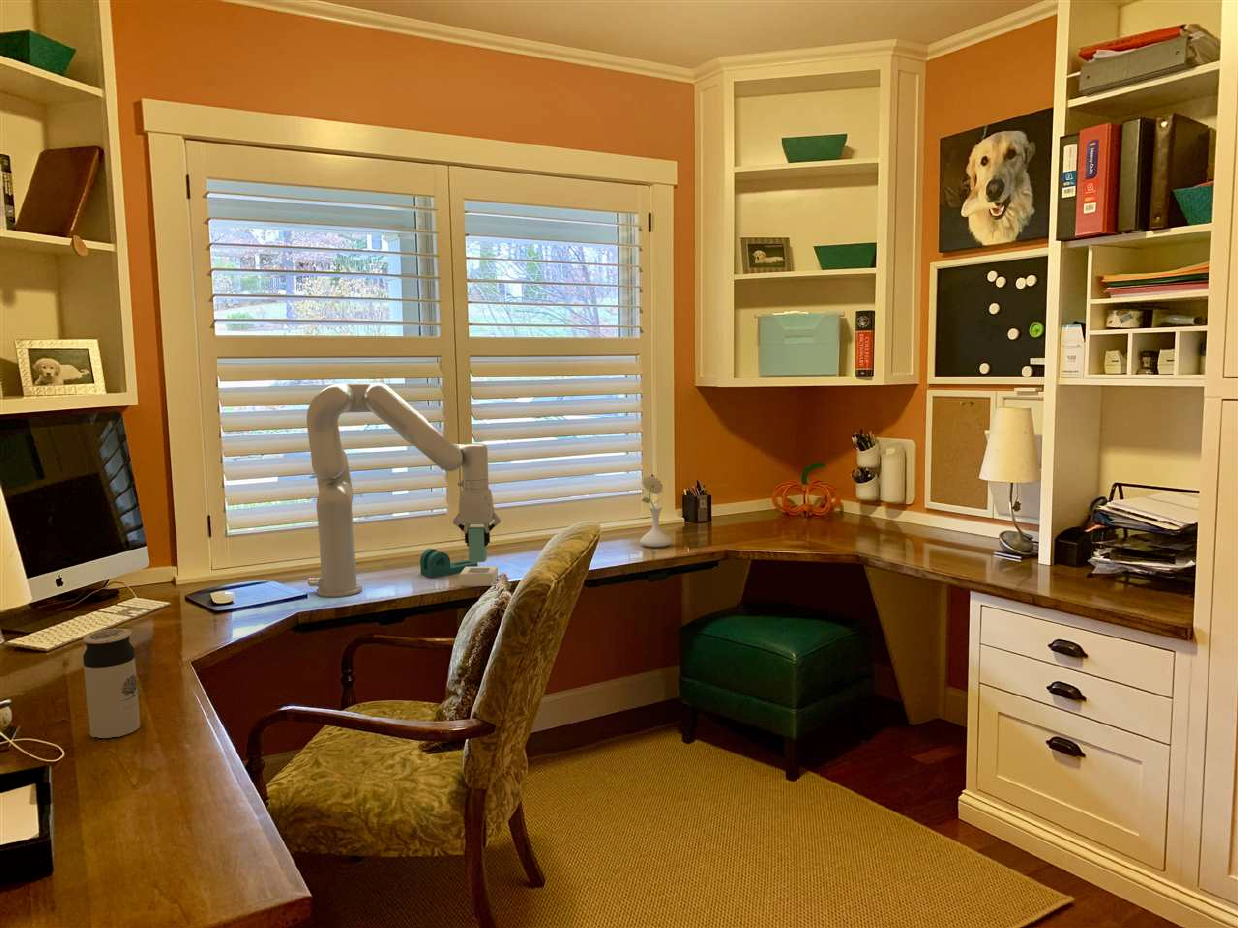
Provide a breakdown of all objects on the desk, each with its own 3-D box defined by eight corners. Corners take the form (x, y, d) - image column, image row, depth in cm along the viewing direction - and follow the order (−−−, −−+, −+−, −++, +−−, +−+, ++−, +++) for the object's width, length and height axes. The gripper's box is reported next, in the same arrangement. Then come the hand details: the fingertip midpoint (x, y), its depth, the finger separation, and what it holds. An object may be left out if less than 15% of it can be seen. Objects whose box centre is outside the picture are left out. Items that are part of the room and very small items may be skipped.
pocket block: (459, 585, 266) (459, 574, 265) (465, 577, 276) (465, 566, 275) (493, 585, 266) (493, 573, 265) (498, 577, 275) (497, 566, 275)
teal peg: (469, 562, 268) (468, 528, 267) (472, 558, 272) (470, 526, 271) (484, 561, 268) (483, 528, 266) (486, 558, 272) (485, 526, 271)
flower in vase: (678, 546, 316) (677, 476, 314) (652, 550, 310) (651, 479, 307) (656, 541, 327) (655, 472, 324) (630, 545, 321) (629, 475, 318)
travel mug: (79, 736, 161) (70, 638, 159) (118, 720, 168) (110, 626, 166) (112, 742, 158) (103, 643, 156) (150, 725, 165) (142, 630, 163)
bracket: (431, 578, 276) (430, 553, 275) (420, 575, 281) (419, 550, 280) (481, 569, 288) (480, 545, 287) (470, 566, 293) (469, 542, 292)
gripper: (444, 487, 264) (447, 548, 266) (502, 486, 264) (504, 547, 266) (449, 483, 271) (452, 543, 273) (505, 483, 271) (507, 542, 273)
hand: (477, 544), depth 269 cm, fingers closed on teal peg, 4 cm apart
